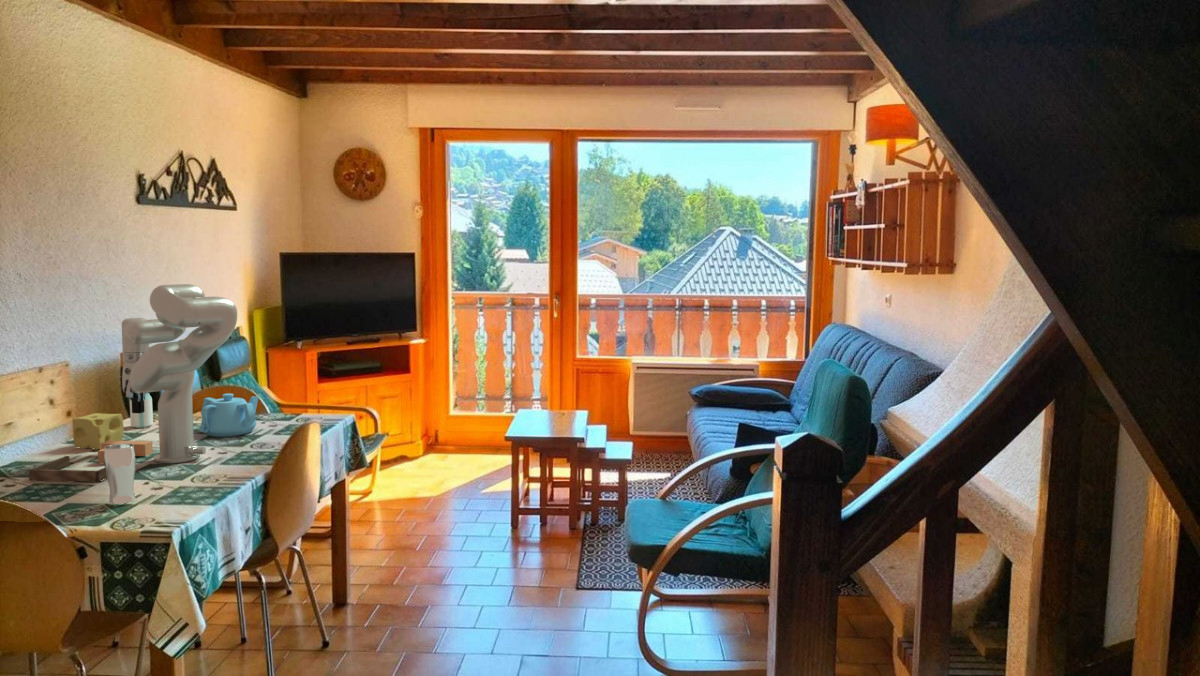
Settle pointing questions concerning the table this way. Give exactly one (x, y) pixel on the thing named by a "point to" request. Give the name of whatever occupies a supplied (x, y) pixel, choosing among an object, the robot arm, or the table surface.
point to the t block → (139, 446)
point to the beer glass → (120, 472)
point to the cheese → (97, 429)
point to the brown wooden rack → (64, 472)
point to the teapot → (228, 416)
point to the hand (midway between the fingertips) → (138, 412)
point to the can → (142, 414)
